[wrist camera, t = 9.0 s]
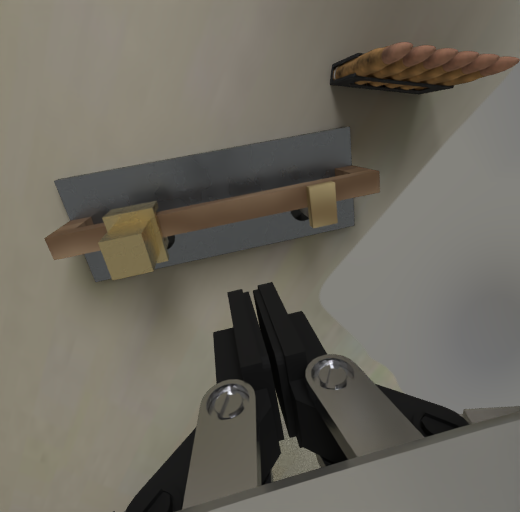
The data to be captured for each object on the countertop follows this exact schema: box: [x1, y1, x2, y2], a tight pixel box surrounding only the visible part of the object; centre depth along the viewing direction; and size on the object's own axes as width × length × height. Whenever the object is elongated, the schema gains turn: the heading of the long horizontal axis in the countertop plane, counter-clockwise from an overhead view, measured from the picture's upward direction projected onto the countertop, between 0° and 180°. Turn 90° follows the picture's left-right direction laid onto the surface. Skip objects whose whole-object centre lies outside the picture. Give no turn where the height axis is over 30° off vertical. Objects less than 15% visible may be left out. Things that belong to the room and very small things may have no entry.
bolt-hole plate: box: [54, 127, 354, 282], centre depth 34 cm, size 11×30×1 cm, turn 99°
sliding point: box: [98, 201, 169, 280], centre depth 28 cm, size 5×4×11 cm
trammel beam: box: [44, 165, 380, 260], centre depth 31 cm, size 4×30×7 cm, turn 99°
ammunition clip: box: [330, 42, 520, 94], centre depth 28 cm, size 11×2×12 cm, turn 86°
